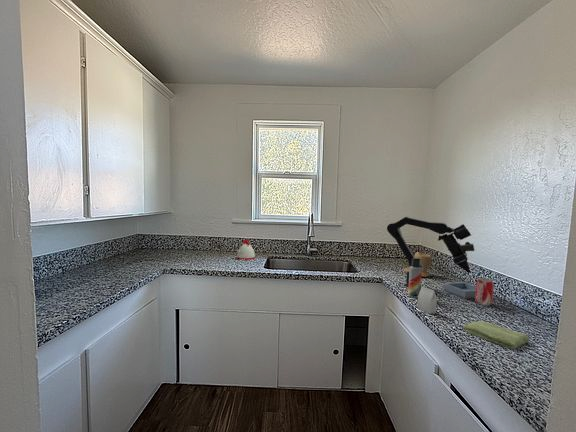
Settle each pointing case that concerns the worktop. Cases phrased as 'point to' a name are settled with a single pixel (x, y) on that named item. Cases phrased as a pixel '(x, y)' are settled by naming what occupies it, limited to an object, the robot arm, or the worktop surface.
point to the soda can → (484, 291)
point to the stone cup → (424, 260)
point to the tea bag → (427, 300)
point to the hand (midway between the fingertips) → (469, 270)
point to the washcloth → (497, 334)
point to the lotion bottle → (415, 278)
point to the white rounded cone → (246, 251)
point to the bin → (461, 289)
